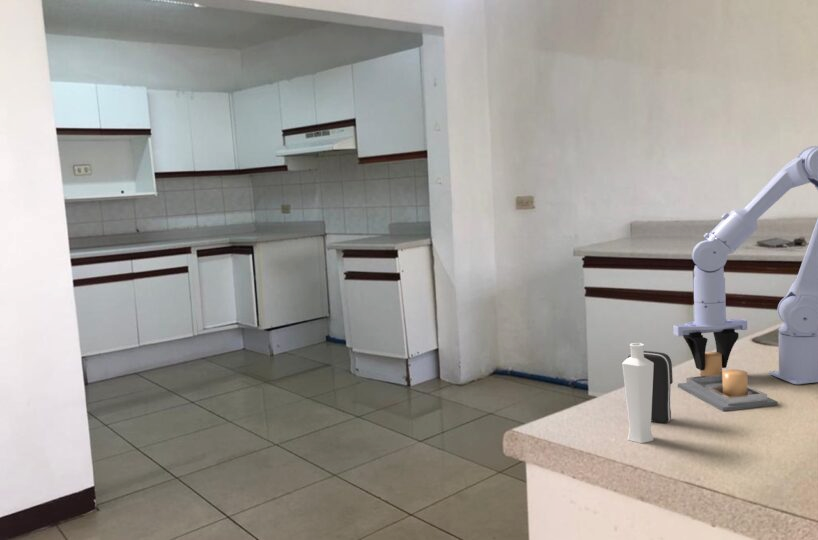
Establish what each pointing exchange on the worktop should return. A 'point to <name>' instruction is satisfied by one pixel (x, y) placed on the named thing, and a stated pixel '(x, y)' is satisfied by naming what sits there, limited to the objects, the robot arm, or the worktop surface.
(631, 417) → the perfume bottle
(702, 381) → the frame
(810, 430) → the worktop surface
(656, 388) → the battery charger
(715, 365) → the peach rounded capsule
